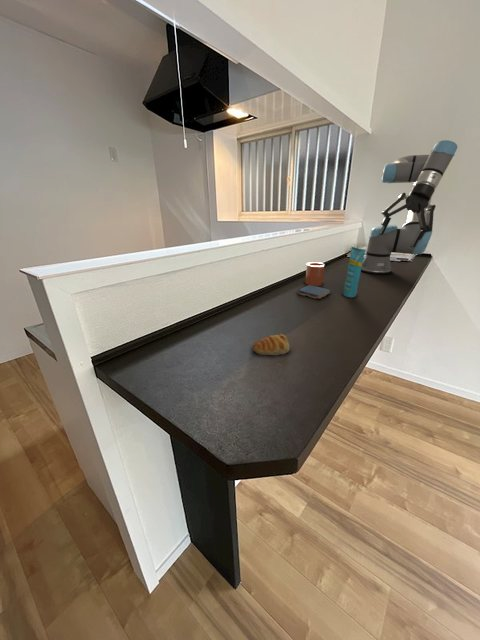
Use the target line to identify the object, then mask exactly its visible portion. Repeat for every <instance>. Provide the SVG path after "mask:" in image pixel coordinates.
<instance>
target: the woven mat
mask: <svg viewBox="0 0 480 640" xmlns="http://www.w3.org/2000/svg"><path fill="white" fill-rule="evenodd" d="M330 290H331V289H329V288H325V287H321V286H314V285H313V286H312V285H306V286H304V287H302V288H299V289H298V291H297V294H299V295H300V296H304V297H306V296H308V297H309V298H313V299H320V300H321V299H322V298H323V297H326V296H327V295H330V293H331V292H330Z"/></svg>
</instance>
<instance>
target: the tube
mask: <svg viewBox="0 0 480 640" xmlns="http://www.w3.org/2000/svg"><path fill="white" fill-rule="evenodd" d="M365 255H366V249H363V248H358V247H353V246H351V250H350V256H349V260H348V267H347V272H346V277H345V282H344V288H343V292H342V293H343V294H342V295H343V296H344V297H346V298H356V296H357V292H358V287H359V282H360V278H361V272H362V271H361V268H362V263H363V260H364V258H365Z"/></svg>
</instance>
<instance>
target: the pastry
mask: <svg viewBox="0 0 480 640" xmlns="http://www.w3.org/2000/svg"><path fill="white" fill-rule="evenodd" d="M252 351H253V352H255V353H256V354H258V355H260V356H261V355H262V356H279V355H285V354H286V353H289V351H291V350H290V344H289V339H288V338H287V336H286V335H285V334H282V333H280V334H274V335H273V334H272V335H266V337H265V338H261V339H259V340H257V341H255V342H254V343H253V345H252Z"/></svg>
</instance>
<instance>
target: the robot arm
mask: <svg viewBox="0 0 480 640" xmlns="http://www.w3.org/2000/svg"><path fill="white" fill-rule="evenodd" d="M457 149H458V144H457V143H456V142H455V141H452V140H447V139H444V140H439V141H437V142H436V143H435V144H434V146H433V148H432V149H431V150H430V153H429V154H416V155H415V154H414V155H413V154H412V155H406V156H402V157H399V158H396V159H395V160H394V161H392V162H391V163H390V162H389V163H386V164H385V165H384V167H383V172H382V175H381V176H382V177H381V182H382V183H383V184H403V183H411V185H412V188H411V190H410V192H409V194H406V192H402V193H400V194H399V195H398V197H397V198H396V199H395V200H394V201H393V202H392V203H391V204H389V205H388V206H387V207H386V208H385V209H383V210H382V211H381V215H383V220H382V221H381V224H380V225H379V226H374V227H373V228H371V230H370V233H369V236H368V243H367V246H366V247H367V248H366V251H365V255H364V258H363V263H362V268H361V272H362V273H367V274H370V275H388V274H390V273H391V270H392V266H391V255H392V253H393V254H394V253H395V254H407V255H408V254H409V255H422V254H423V253H424V252H425V251H426V249H427V247H428V245H429V241H430V240H431V237H432V234H433V224H434V211H435V210H436V206H437V205H436V204H431V201H432V197H433V194H434V193H435V191H436V189H437V187H438V185H439V184H440V182H441V181H442V178H443V176H444V175H445V172H446V170H447V169H448V167H449V165H450V163H451V161H452V160H453V158H454V156H455V154H456V152H457ZM404 200H405V204H403V205H402V206H399V207H397V208H395V207H396V206H397V205H398V204H399V203H400V202H402V201H404ZM393 208H395V209H394V210H392V209H393ZM405 209H406V211H408V212H407V217H406V222H405V223H404V224H403V225H402V226H401V228H399V227H398V225H396V224H395V225H394V224H390V222H391V220H392V216H393V215H396V214H397V213H400V212H401V211H403V210H405ZM391 210H392V211H391Z"/></svg>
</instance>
